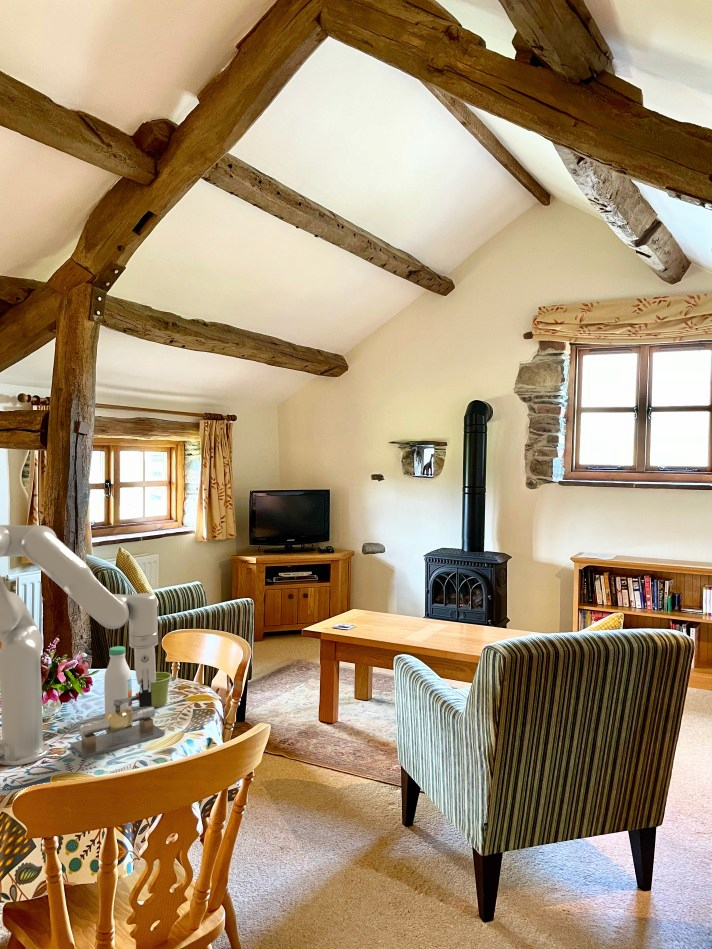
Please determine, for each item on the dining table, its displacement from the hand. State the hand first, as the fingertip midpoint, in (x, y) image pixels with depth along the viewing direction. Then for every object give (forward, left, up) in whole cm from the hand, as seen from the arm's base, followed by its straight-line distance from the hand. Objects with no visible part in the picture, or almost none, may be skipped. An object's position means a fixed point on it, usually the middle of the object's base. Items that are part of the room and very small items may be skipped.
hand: (145, 705), depth 192 cm
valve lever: (-3, +3, +1) cm, 4 cm away
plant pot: (+13, +22, -9) cm, 27 cm away
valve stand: (-7, +3, -9) cm, 11 cm away
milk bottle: (+1, +22, -9) cm, 24 cm away
